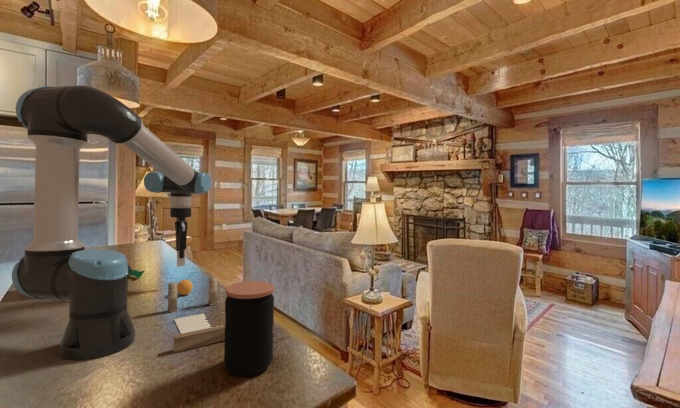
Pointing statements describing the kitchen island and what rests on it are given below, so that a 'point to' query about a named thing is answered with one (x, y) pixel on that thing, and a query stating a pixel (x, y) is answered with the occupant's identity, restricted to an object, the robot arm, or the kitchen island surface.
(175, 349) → the stopper wall
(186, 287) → the ball
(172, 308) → the post left
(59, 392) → the kitchen island surface
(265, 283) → the coffee jar
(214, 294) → the post right
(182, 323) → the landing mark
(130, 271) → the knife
